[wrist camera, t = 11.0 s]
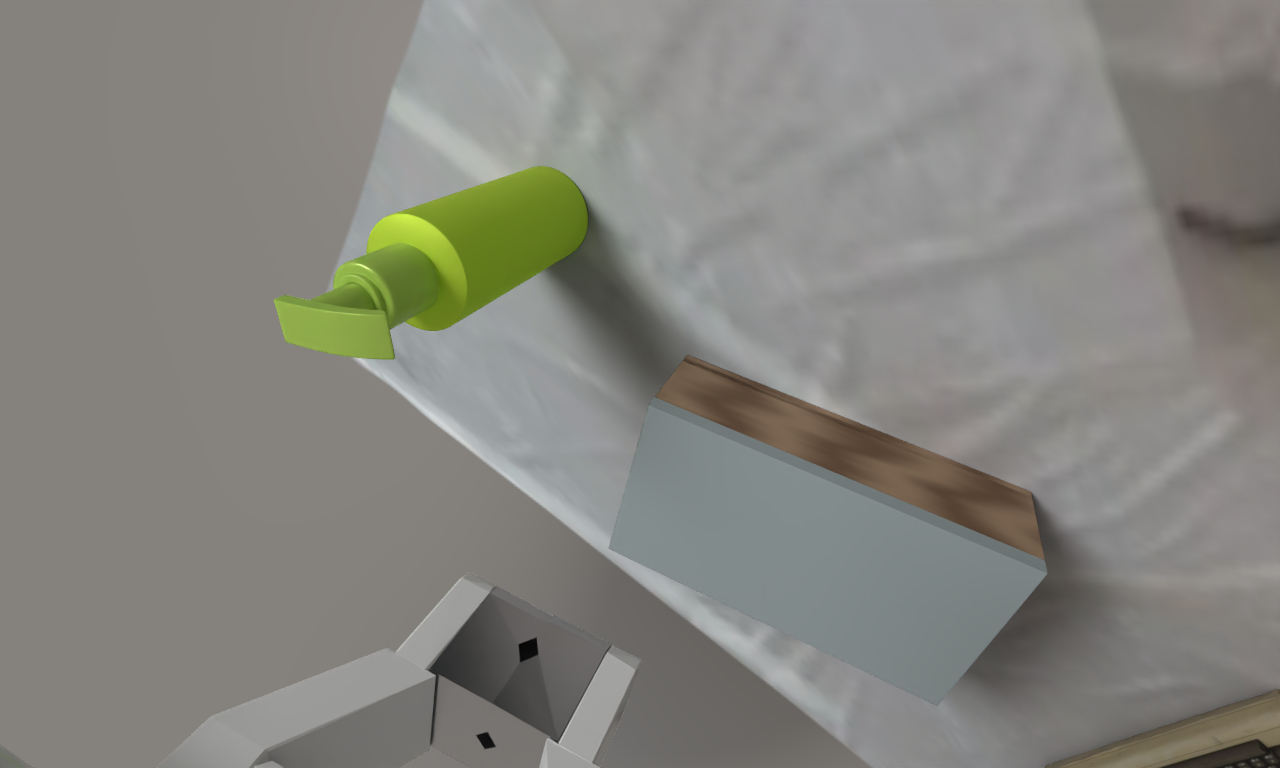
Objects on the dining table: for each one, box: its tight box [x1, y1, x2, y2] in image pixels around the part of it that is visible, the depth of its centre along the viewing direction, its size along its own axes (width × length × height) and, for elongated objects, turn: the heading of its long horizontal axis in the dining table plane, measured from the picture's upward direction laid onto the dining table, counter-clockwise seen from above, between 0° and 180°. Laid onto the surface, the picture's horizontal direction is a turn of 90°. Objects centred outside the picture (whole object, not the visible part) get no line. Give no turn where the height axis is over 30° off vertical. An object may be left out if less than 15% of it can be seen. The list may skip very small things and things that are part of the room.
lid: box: [609, 397, 1048, 706], centre depth 38 cm, size 22×12×1 cm, turn 76°
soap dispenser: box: [274, 166, 588, 359], centre depth 34 cm, size 6×7×20 cm
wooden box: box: [655, 355, 1045, 560], centre depth 41 cm, size 22×12×6 cm, turn 76°
